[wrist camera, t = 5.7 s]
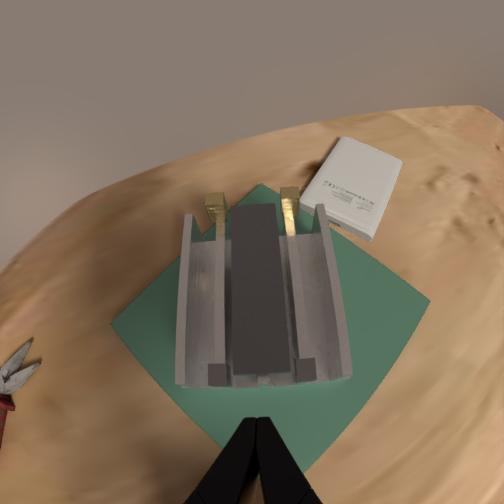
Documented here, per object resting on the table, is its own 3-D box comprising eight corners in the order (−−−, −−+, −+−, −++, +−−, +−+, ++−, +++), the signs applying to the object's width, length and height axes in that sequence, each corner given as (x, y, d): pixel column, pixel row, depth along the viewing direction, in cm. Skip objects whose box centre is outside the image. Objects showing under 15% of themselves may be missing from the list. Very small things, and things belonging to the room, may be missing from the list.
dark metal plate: (290, 372, 15) (290, 371, 14) (234, 376, 15) (233, 374, 14) (275, 210, 20) (275, 202, 20) (232, 213, 20) (231, 206, 20)
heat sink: (346, 380, 19) (378, 369, 13) (187, 390, 20) (147, 382, 13) (325, 241, 25) (339, 184, 19) (191, 251, 26) (165, 198, 19)
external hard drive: (399, 170, 31) (369, 245, 26) (340, 144, 34) (295, 210, 29) (403, 160, 30) (373, 236, 25) (341, 134, 32) (296, 199, 28)
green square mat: (425, 304, 22) (430, 300, 22) (280, 490, 16) (280, 493, 15) (261, 189, 30) (261, 183, 29) (115, 326, 24) (110, 323, 23)
